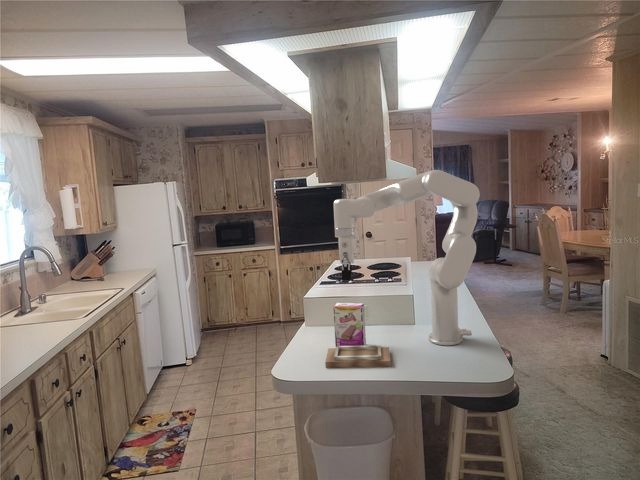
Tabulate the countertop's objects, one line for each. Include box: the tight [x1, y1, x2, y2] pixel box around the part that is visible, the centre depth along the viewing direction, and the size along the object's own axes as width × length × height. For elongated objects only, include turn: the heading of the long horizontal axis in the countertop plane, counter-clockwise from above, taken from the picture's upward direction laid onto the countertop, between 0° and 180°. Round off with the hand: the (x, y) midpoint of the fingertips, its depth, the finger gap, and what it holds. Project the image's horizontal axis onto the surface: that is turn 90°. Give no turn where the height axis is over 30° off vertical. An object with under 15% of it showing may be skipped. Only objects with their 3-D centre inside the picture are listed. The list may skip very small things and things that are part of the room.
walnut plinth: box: [324, 344, 392, 369], centre depth 152 cm, size 22×12×3 cm, turn 84°
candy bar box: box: [333, 302, 367, 348], centre depth 164 cm, size 11×5×16 cm, turn 74°
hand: (347, 277), depth 162 cm, fingers open, 9 cm apart
